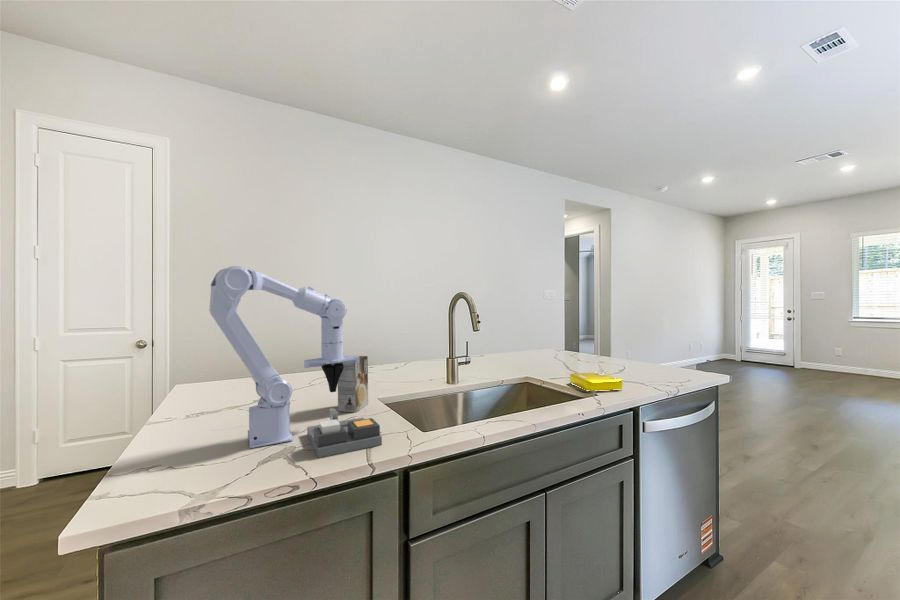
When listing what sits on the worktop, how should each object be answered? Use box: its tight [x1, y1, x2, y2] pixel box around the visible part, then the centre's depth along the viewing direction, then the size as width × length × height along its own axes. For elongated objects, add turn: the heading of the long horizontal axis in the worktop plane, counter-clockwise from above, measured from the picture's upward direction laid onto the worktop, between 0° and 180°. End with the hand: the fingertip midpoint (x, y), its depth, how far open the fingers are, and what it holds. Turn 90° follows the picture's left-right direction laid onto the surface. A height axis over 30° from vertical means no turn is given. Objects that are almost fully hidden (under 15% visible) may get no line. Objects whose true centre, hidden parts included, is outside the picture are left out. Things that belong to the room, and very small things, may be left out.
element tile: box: [569, 371, 624, 391], centre depth 145 cm, size 15×15×5 cm
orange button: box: [353, 418, 374, 428], centre depth 91 cm, size 4×4×2 cm
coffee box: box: [337, 355, 369, 413], centre depth 119 cm, size 9×6×16 cm
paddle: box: [329, 407, 339, 422], centre depth 95 cm, size 1×4×4 cm, turn 29°
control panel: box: [306, 417, 383, 459], centre depth 93 cm, size 15×16×4 cm
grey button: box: [318, 419, 340, 434], centre depth 87 cm, size 4×4×2 cm
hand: (332, 391), depth 103 cm, fingers closed
